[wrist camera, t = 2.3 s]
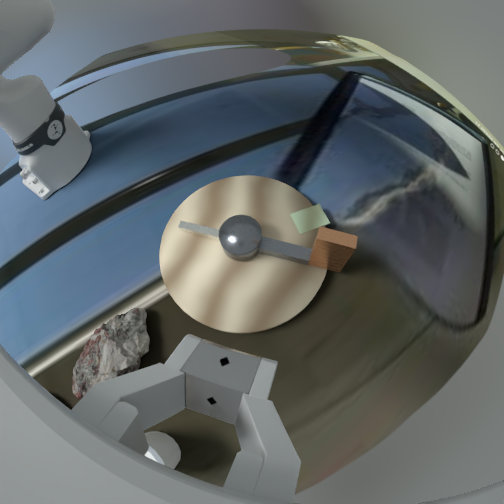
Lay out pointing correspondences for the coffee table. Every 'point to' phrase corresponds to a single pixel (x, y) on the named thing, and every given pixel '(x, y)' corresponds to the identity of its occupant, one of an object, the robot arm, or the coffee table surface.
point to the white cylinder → (163, 449)
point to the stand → (241, 272)
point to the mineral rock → (112, 351)
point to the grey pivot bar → (277, 243)
